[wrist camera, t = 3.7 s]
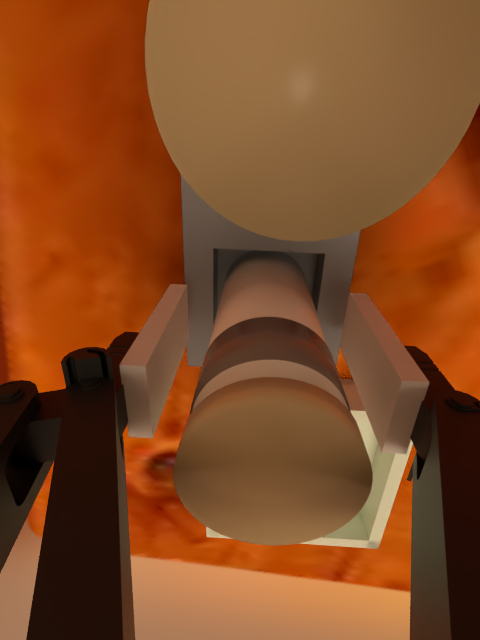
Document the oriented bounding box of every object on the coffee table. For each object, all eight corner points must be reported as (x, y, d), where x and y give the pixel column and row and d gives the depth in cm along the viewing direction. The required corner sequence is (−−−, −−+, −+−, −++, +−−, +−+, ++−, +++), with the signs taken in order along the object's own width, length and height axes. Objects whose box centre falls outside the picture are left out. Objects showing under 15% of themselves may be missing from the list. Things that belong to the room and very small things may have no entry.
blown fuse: (223, 244, 19) (167, 398, 7) (312, 248, 19) (392, 412, 7) (222, 323, 21) (177, 538, 10) (302, 327, 21) (353, 551, 9)
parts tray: (211, 371, 23) (205, 401, 20) (403, 382, 23) (422, 414, 20) (211, 499, 28) (206, 536, 26) (366, 509, 28) (378, 548, 25)
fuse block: (186, 7, 15) (-83, -484, 3) (382, 12, 15) (862, -495, 3) (195, 343, 22) (120, 572, 10) (326, 350, 22) (404, 593, 10)
